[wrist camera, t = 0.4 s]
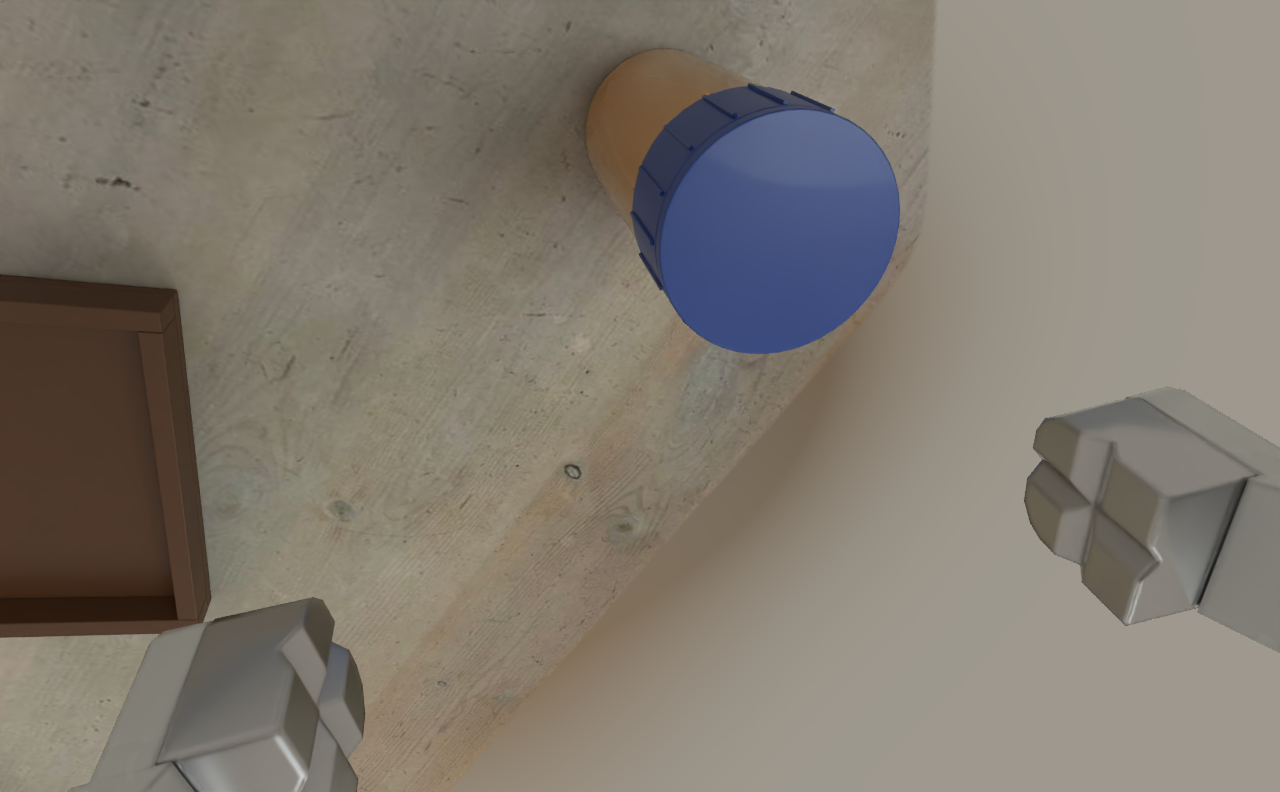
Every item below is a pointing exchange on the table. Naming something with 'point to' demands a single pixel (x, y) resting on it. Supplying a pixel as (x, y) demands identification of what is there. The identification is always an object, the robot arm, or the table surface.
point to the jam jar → (644, 113)
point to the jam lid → (764, 218)
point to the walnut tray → (96, 463)
